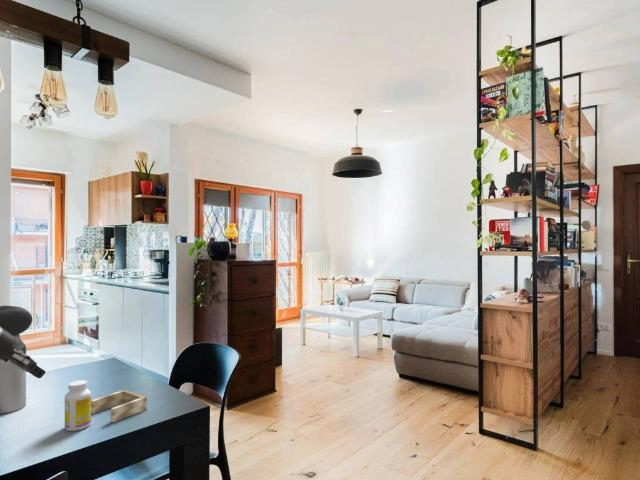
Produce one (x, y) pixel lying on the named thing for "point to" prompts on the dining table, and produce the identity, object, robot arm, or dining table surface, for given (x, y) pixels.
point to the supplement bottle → (77, 406)
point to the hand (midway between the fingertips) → (41, 374)
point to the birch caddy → (129, 406)
